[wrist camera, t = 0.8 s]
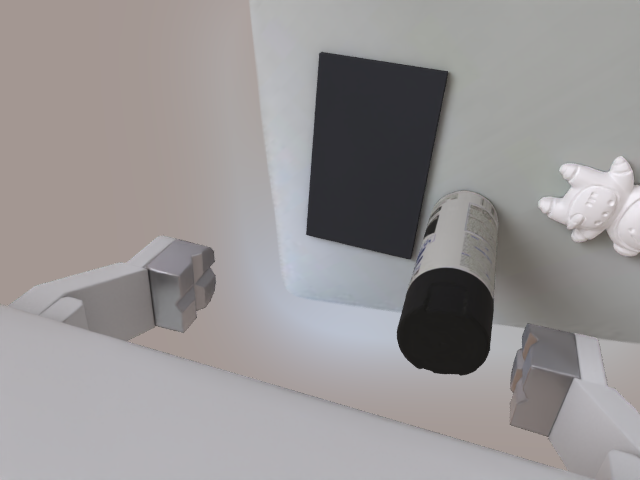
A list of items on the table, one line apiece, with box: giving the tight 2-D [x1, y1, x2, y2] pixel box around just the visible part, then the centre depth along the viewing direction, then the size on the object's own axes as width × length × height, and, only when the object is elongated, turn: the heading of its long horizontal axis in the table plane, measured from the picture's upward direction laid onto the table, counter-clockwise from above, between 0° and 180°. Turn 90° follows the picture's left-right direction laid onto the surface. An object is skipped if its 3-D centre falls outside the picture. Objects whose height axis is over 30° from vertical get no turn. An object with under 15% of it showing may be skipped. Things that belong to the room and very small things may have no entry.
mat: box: [306, 52, 448, 259], centre depth 54 cm, size 20×12×1 cm, turn 176°
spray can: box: [397, 190, 498, 375], centre depth 46 cm, size 7×7×20 cm
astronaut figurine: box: [538, 156, 640, 257], centre depth 48 cm, size 9×12×3 cm
